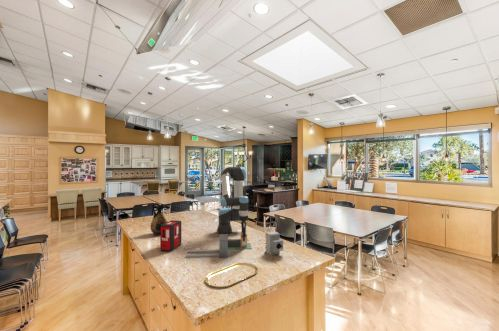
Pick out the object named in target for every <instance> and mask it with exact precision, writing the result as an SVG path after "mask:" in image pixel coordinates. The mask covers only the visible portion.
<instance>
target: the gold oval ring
mask: <svg viewBox="0 0 499 331" xmlns="http://www.w3.org/2000/svg"><path fill="white" fill-rule="evenodd" d="M241 266H242V267H243V266H246V267H250V268H252V269H254V273H253V274H250V275H248V276H246V277H244V278H241V279H240V280H238V281H235V282H233V283H231V284H227V285H220V286H217V285H213V284H210V281H209V280H210V278H211V277H213V276H215V275H218V274H222V273H223V272H227V271H228V270H231V269H233V268H235V267H241ZM258 271H259V270H258V266H256V265H255V264H253V263H248V262H237V263H233V264H230V265H228V266H226V267H223V268H220V269H218V270H214V271H213V272H210V273H208V274H207V275H206V276H205V279H204V280H205V283H206V284H207V285H208V286H210V287H212V288H218V289H220V288H223V289H224V288H227V287H228V288H229V287H231V286H234V285H235V284H237V283H240V282H242V281H244V280H247V279H249V278H250V277H251V278H252V277H253V276H254V275H256V274H257V272H258Z"/></svg>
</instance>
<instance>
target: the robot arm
mask: <svg viewBox="0 0 499 331" xmlns="http://www.w3.org/2000/svg"><path fill="white" fill-rule="evenodd" d="M231 179H232V181H233V185H234V186H233V187H234V189H233V192H234V193H233V197H232V190H231ZM245 179H247V172H246V169H245V167H244V166H227V167H225V168H223V170H222V171H221V174H220V180H221V190H222V192H221V193H222V197H220V206H221V207H222V208H220V209H219V210H218V225H217V229H216V233H217V234H219V235H220V234H228V235H229V234H232V233H233V227H232V225H231V222H241V223H240V224H241V233H242V245H246V233H247V221H249V201H250V200H249V196H246V195H244V182H245ZM231 207H232V208H231ZM231 232H232V233H231Z"/></svg>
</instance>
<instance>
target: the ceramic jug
mask: <svg viewBox="0 0 499 331" xmlns="http://www.w3.org/2000/svg"><path fill="white" fill-rule="evenodd" d="M156 206H157V207H156ZM155 207H156V208H155ZM151 208H152V212H153V217H152V219H151V222H150V225H149V226H150V230H151V232H152V234H153V235H154V236H160V225H162V224H165V223H167V222H168V221H167V218H166V217H165V215H164V214H163V213H162V210H164V209H166V208H167V206H165V204H163V203H162V204H161V205H160V203H158V202H155V203H153V204H152V206H151ZM155 210H156V211H157V212H156V211H155Z"/></svg>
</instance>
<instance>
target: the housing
mask: <svg viewBox="0 0 499 331" xmlns="http://www.w3.org/2000/svg"><path fill="white" fill-rule="evenodd" d="M228 236H229V234H219V240H218V241H219V243H218V248H219V249H204V250H201V249H200V250H199V249H198V250H195V249H194V250H188V251H187V254H186V255H185V258H208V257H209V258H210V257H212V258H213V257H219V258H220V259H227V258H229V257H228V256H229V254H228V253H229V250H228V239H229V237H228ZM203 253H204V254H203Z"/></svg>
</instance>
